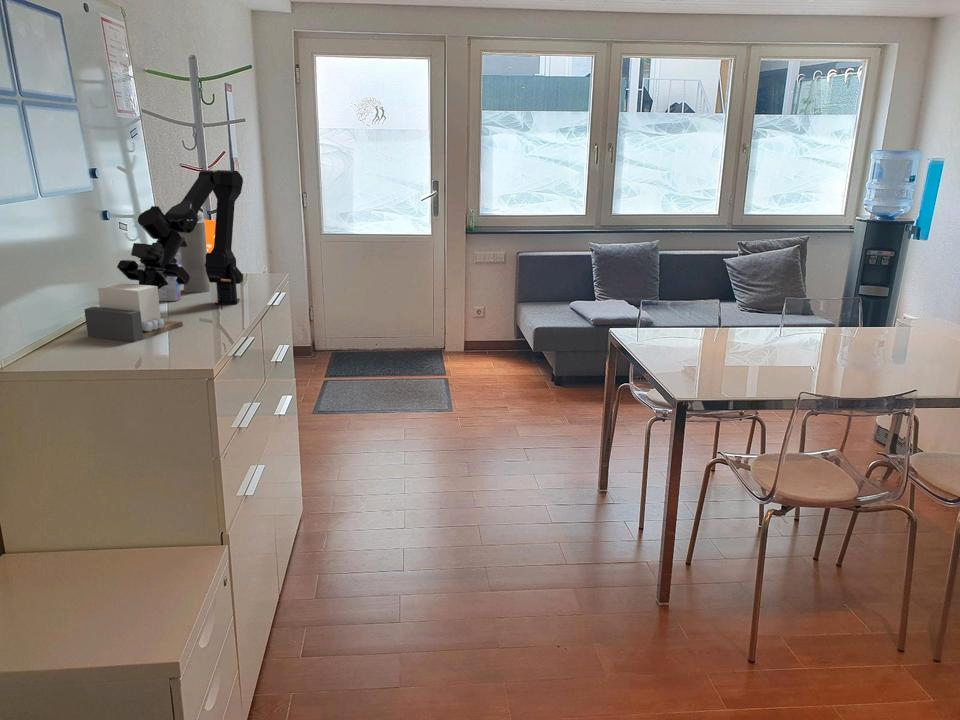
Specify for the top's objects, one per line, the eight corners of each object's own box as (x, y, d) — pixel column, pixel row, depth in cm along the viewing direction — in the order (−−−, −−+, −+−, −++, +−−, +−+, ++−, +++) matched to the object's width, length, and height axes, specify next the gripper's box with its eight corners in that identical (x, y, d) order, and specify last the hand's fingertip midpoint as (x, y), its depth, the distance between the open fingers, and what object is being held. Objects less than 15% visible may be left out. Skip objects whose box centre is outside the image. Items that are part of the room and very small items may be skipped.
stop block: (96, 333, 189) (93, 306, 187) (143, 339, 185) (140, 311, 184) (87, 336, 187) (84, 309, 185) (134, 341, 183) (131, 313, 181)
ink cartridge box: (181, 297, 234) (177, 251, 230) (178, 301, 229) (173, 254, 225) (148, 298, 232) (143, 251, 228) (143, 301, 227) (138, 254, 223)
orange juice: (216, 273, 278) (212, 218, 273) (233, 275, 274) (229, 220, 268) (199, 276, 272) (195, 220, 266) (216, 278, 267) (212, 221, 262)
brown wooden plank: (139, 321, 203) (138, 317, 203) (182, 325, 199) (182, 321, 199) (87, 336, 187) (87, 331, 186) (134, 341, 183) (134, 337, 182)
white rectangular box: (118, 321, 196) (114, 282, 193) (165, 326, 192) (161, 286, 190) (98, 327, 190) (93, 287, 187) (146, 332, 186) (142, 291, 183)
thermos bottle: (199, 287, 251) (192, 202, 244) (215, 290, 247) (208, 203, 239) (179, 290, 245) (171, 203, 237) (194, 293, 241) (187, 204, 233)
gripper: (118, 229, 196) (90, 277, 189) (178, 232, 191) (153, 282, 183) (142, 255, 205) (117, 302, 198) (200, 259, 200) (177, 308, 193)
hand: (140, 298), depth 193 cm, fingers closed
